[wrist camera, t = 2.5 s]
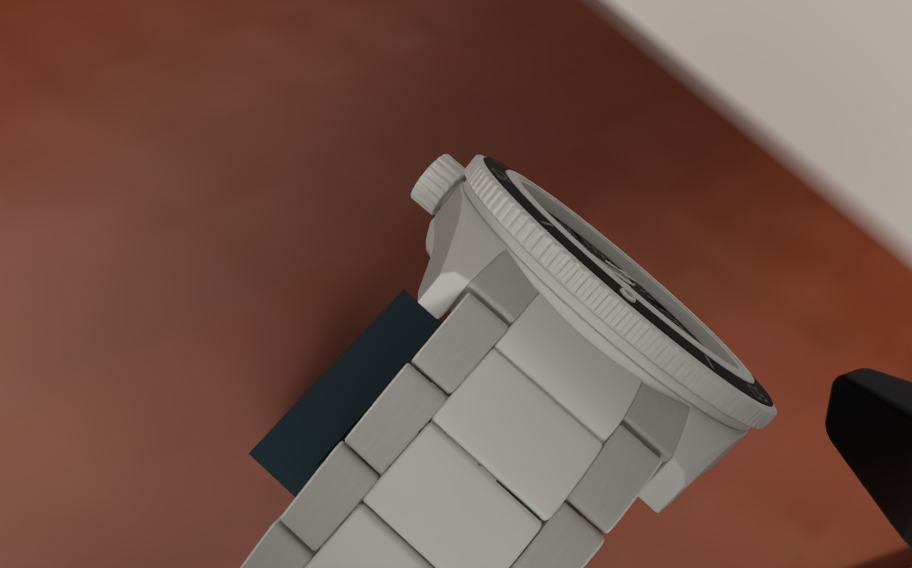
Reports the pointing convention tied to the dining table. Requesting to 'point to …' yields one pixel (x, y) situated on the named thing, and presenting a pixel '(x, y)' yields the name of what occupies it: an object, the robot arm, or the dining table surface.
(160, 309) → the dining table surface
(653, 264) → the dining table surface
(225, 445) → the dining table surface
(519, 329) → the watch
